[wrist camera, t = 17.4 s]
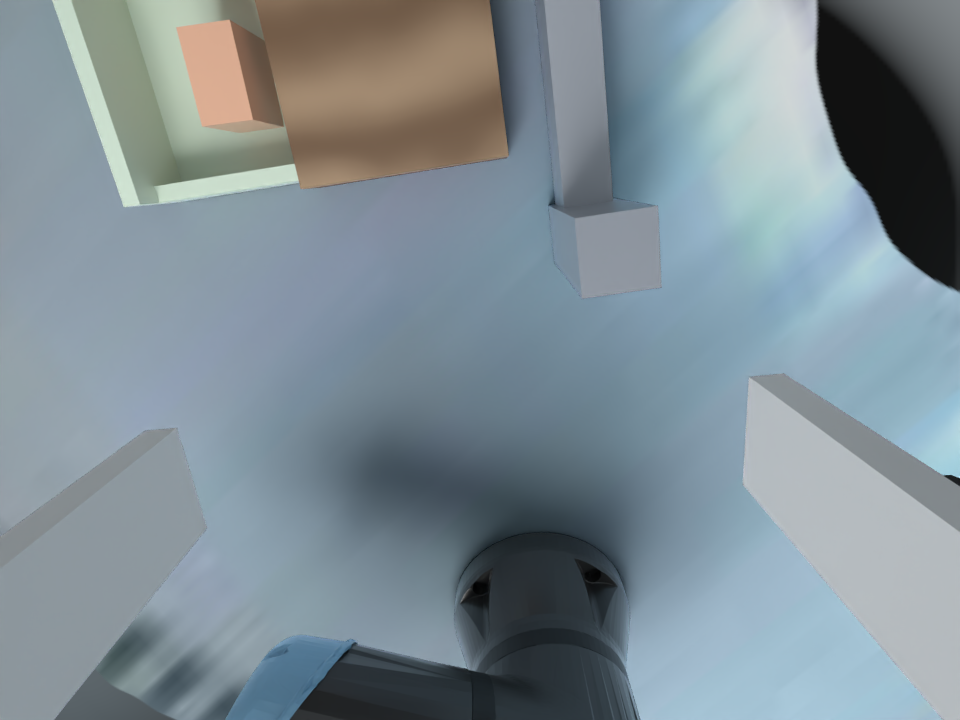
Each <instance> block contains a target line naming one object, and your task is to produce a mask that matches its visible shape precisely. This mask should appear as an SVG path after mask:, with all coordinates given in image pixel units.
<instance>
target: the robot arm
mask: <svg viewBox="0 0 960 720" xmlns="http://www.w3.org/2000/svg"><path fill="white" fill-rule="evenodd" d="M743 486H744V487H745V488H746V489H747V490H748V491H749V493H750V494H751V495H752V496H753V497H754V498H755V500H756V501H757V502H758V503H759V504H760V506H761V507H762V508H763V509H764V510H765V511H766V513H767V514H768V515H769V516H770V517H771V518H772V520H773V521H774V522H775V523H776V524H777V526H778V527H779V528H780V529H781V530H782V531H783V533H784V534H785V535H786V536H787V537H788V538H789V540H790V541H791V542H792V543H793V544H794V546H795V547H796V548H797V549H798V550H799V551H800V553H801V554H802V555H803V556H804V557H805V558H806V560H807V561H808V562H809V563H810V564H811V565H812V567H813V568H814V569H815V570H816V571H817V573H818V574H819V575H820V576H821V577H822V578H823V580H824V581H825V582H826V583H827V584H828V585H829V587H830V588H831V589H832V590H833V591H834V593H835V594H836V595H837V596H838V597H839V598H840V600H841V601H842V602H843V603H844V604H845V605H846V607H847V608H848V609H849V610H850V611H851V612H852V614H853V615H854V616H855V617H856V618H857V620H858V621H859V622H860V623H861V624H862V625H863V627H864V628H865V629H866V630H867V631H868V632H869V634H870V635H871V636H872V637H873V638H874V640H875V641H876V642H877V643H878V644H879V645H880V647H881V648H882V649H883V650H884V651H885V652H886V654H887V655H888V656H889V657H890V658H891V660H892V661H893V662H894V663H895V664H896V665H897V667H898V668H899V669H900V670H901V671H902V672H903V674H904V675H905V676H906V677H907V678H908V679H909V681H910V682H911V683H912V684H913V685H914V687H915V688H916V689H917V690H918V691H919V692H920V694H921V695H922V696H923V697H924V698H925V699H926V701H927V702H928V703H929V704H930V705H931V707H932V708H933V709H934V710H935V711H936V712H937V714H938V715H939V716H940V717H941V718H942V719H943V720H960V478H957V477H955V476H952V475H944V476H943V475H941V474H940V473H938V472H937V471H935V470H934V469H932V468H930V467H929V466H927V465H926V464H924V463H923V462H921V461H919V460H918V459H916V458H915V457H913V456H912V455H910V454H909V453H907V452H905V451H904V450H902V449H901V448H899V447H898V446H896V445H895V444H893V443H891V442H890V441H888V440H887V439H885V438H884V437H882V436H881V435H879V434H877V433H876V432H874V431H873V430H871V429H870V428H868V427H866V426H865V425H863V424H862V423H860V422H859V421H857V420H856V419H854V418H852V417H851V416H849V415H848V414H846V413H845V412H843V411H842V410H840V409H838V408H837V407H835V406H834V405H832V404H831V403H829V402H828V401H826V400H824V399H823V398H821V397H820V396H818V395H817V394H815V393H813V392H812V391H810V390H809V389H807V388H806V387H804V386H803V385H801V384H799V383H798V382H796V381H795V380H793V379H792V378H790V377H789V376H787V375H785V374H773V375H762V376H750V377H749V384H748V401H747V419H746V436H745V453H744V470H743ZM206 529H207V526H206V522H205V519H204V516H203V512H202V509H201V506H200V502H199V499H198V496H197V493H196V489H195V486H194V483H193V479H192V476H191V473H190V469H189V466H188V463H187V460H186V456H185V453H184V450H183V446H182V443H181V440H180V436H179V433H178V430H177V428H170V429H158V430H147V431H144V432H143V433H141V434H140V435H138V436H137V437H136V438H134V439H133V440H132V441H130V442H129V443H128V444H126V445H125V446H123V447H122V448H121V449H119V450H118V451H117V452H115V453H114V454H112V455H111V456H110V457H108V458H107V459H106V460H104V461H103V462H102V463H100V464H99V465H97V466H96V467H95V468H93V469H92V470H91V471H89V472H88V473H87V474H85V475H84V476H82V477H81V478H80V479H78V480H77V481H76V482H74V483H73V484H71V485H70V486H69V487H67V488H66V489H65V490H63V491H62V492H61V493H59V494H58V495H56V496H55V497H54V498H52V499H51V500H50V501H48V502H47V503H46V504H44V505H43V506H41V507H40V508H39V509H37V510H36V511H35V512H33V513H32V514H30V515H29V516H28V517H26V518H25V519H24V520H22V521H21V522H20V523H18V524H17V525H15V526H14V527H13V528H11V529H10V530H9V531H7V532H6V533H5V534H3V535H2V536H0V720H54V719H55V718H56V716H57V715H58V714H59V713H60V711H61V710H62V709H63V707H64V706H65V705H66V704H67V703H68V701H69V700H70V699H71V698H72V696H73V695H74V694H75V693H76V691H77V690H78V689H79V688H80V686H81V685H82V684H83V683H84V681H85V680H86V679H87V678H88V676H89V675H90V674H91V673H92V672H93V670H94V669H95V668H96V667H97V665H98V664H99V663H100V662H101V660H102V659H103V658H104V657H105V655H106V654H107V653H108V652H109V650H110V649H111V648H112V647H113V645H114V644H115V643H116V642H117V640H118V639H119V638H120V637H121V635H122V634H123V633H124V632H125V630H126V629H127V628H128V627H129V625H130V624H131V623H132V622H133V620H134V619H135V618H136V617H137V615H138V614H139V613H140V612H141V610H142V609H143V608H144V607H145V605H146V604H147V603H148V602H149V600H150V599H151V598H152V597H153V595H154V594H155V593H156V592H157V590H158V589H159V588H160V587H161V585H162V584H163V583H164V582H165V580H166V579H167V578H168V577H169V575H170V574H171V573H172V572H173V571H174V569H175V568H176V567H177V566H178V564H179V563H180V562H181V561H182V559H183V558H184V557H185V556H186V554H187V553H188V552H189V551H190V549H191V548H192V547H193V546H194V544H195V543H196V542H197V541H198V539H199V538H200V537H201V536H202V534H203V533H204V532H205V531H206ZM454 621H455V630H456V634H457V638H458V641H459V644H460V647H461V650H462V653H463V656H464V659H465V662H466V665H467V668H468V669H465V668H460V667H455V666H450V665H445V664H441V663H436V662H431V661H427V660H423V659H418V658H414V657H410V656H405V655H401V654H397V653H392V652H388V651H384V650H379V649H375V648H371V647H366V646H362V645H358V642H357V641H356V640H353V639H350V640H347V641H346V642H344V641H338V640H332V639H325V638H319V637H313V636H307V635H297V636H292V637H289V638H287V639H285V640H283V641H282V642H280V643H279V644H277V645H276V646H275V647H274V648H273V649H272V650H271V651H269V653H268V654H267V655H266V656H265V657H264V659H263V660H262V661H261V663H260V664H259V665H258V667H257V668H256V669H255V671H254V672H253V674H252V675H251V677H250V678H249V680H248V681H247V683H246V685H245V686H244V688H243V689H242V691H241V693H240V694H239V696H238V698H237V700H236V701H235V703H234V705H233V707H232V708H231V710H230V712H229V714H228V716H227V717H226V719H225V720H640V717H639V713H638V710H637V706H636V703H635V700H634V696H633V693H632V689H631V686H630V683H629V679H628V676H627V672H626V661H627V650H628V638H629V626H630V610H629V603H628V599H627V596H626V593H625V590H624V587H623V584H622V581H621V578H620V576H619V574H618V572H617V570H616V568H615V567H614V565H613V564H612V563H611V561H610V560H609V559H608V558H607V557H606V556H605V555H604V554H603V553H601V552H600V551H599V550H598V549H596V548H595V547H593V546H591V545H590V544H588V543H586V542H584V541H582V540H579V539H576V538H574V537H570V536H566V535H562V534H556V533H528V534H522V535H517V536H514V537H510V538H507V539H505V540H502V541H500V542H498V543H496V544H494V545H492V546H490V547H489V548H487V549H486V550H484V551H483V552H482V553H480V554H479V555H478V556H477V557H476V558H475V559H474V560H473V561H472V562H471V563H470V564H469V566H468V567H467V568H466V570H465V571H464V573H463V575H462V577H461V579H460V581H459V584H458V587H457V591H456V598H455V613H454Z"/></svg>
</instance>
